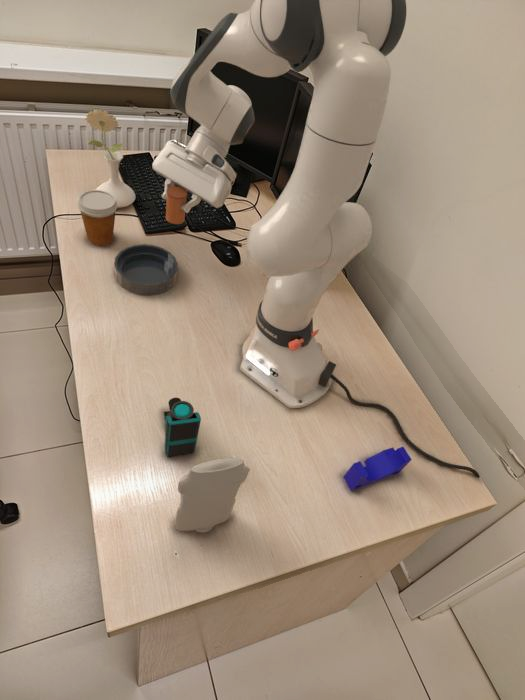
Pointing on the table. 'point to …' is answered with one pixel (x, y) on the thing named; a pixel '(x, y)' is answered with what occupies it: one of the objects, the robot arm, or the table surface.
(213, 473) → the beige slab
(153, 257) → the bowl
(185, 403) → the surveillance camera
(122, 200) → the flower in vase
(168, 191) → the copper tin
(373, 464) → the blue toy truck
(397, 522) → the table surface
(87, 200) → the disposable coffee cup
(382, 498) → the table surface
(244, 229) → the table surface
